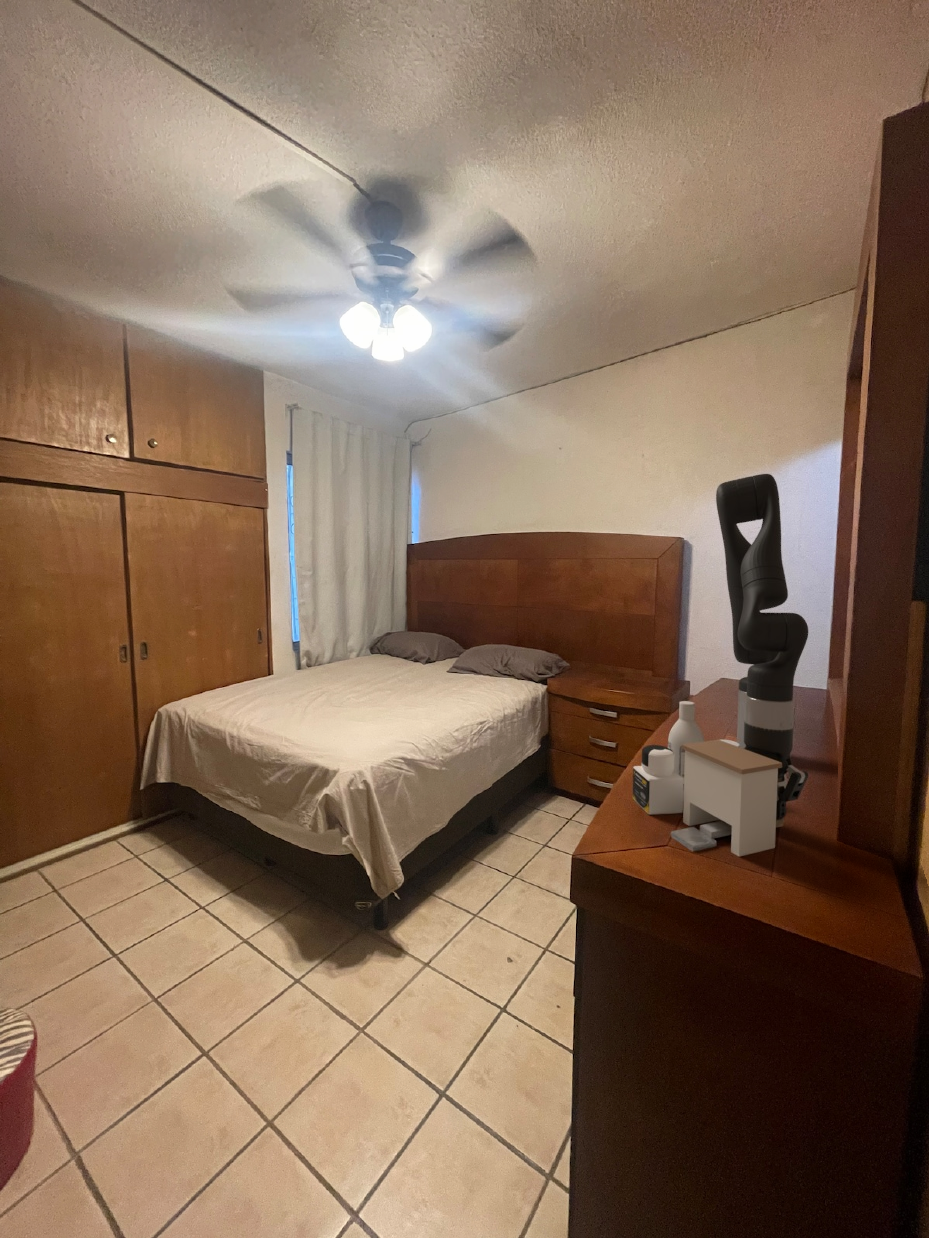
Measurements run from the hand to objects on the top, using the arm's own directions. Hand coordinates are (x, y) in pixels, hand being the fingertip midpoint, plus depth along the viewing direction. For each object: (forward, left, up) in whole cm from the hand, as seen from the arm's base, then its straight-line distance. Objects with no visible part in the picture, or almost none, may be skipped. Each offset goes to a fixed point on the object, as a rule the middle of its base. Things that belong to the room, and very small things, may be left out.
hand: (764, 812), depth 86 cm
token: (+17, 0, -3) cm, 17 cm away
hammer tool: (+6, 0, -2) cm, 6 cm away
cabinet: (+9, 0, -2) cm, 9 cm away
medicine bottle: (+13, -13, -3) cm, 19 cm away
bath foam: (+4, -15, -3) cm, 16 cm away
